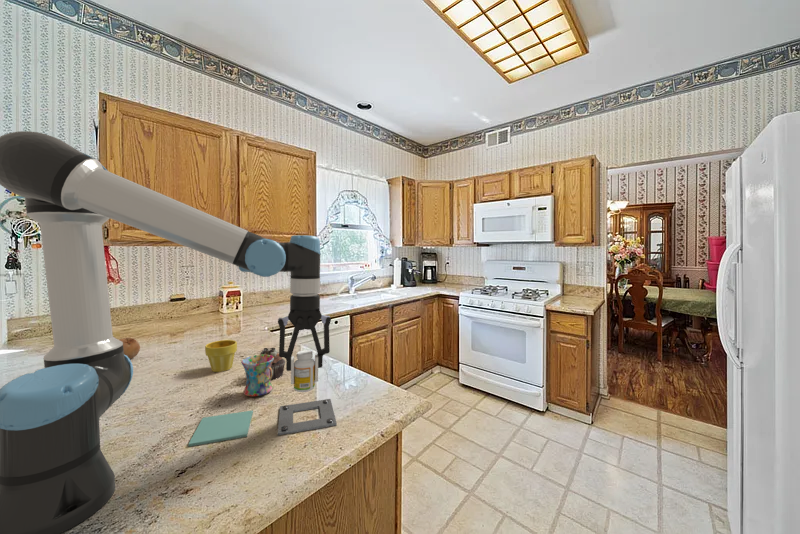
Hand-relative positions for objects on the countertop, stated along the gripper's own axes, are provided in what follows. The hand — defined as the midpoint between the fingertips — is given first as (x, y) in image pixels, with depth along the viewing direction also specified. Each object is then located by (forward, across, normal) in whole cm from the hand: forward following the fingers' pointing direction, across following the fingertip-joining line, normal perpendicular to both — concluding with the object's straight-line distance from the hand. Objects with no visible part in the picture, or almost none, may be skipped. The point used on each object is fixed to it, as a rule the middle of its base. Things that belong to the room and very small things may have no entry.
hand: (304, 380), depth 83 cm
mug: (+10, +12, -19) cm, 25 cm away
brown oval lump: (+11, +68, -71) cm, 99 cm away
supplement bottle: (+2, 0, 0) cm, 2 cm away
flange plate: (+10, -1, 0) cm, 10 cm away
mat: (+10, +19, -1) cm, 22 cm away
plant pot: (+11, +28, -46) cm, 55 cm away
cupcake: (+10, +10, -33) cm, 36 cm away
